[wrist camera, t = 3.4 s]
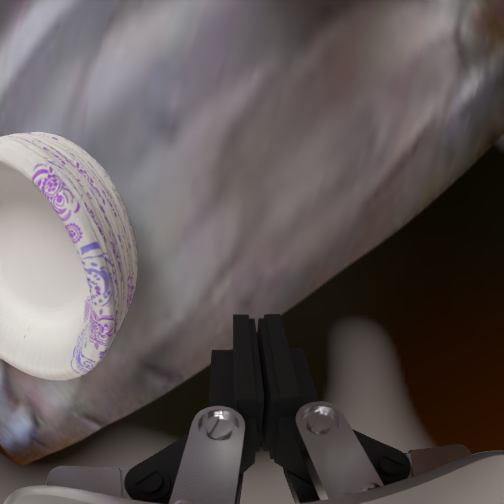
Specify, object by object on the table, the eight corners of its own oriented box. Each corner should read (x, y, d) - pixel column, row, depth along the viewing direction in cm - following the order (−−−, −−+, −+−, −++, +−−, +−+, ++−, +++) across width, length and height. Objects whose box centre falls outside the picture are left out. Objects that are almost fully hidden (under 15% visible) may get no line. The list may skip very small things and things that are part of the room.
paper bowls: (-25, 175, 16) (-89, 203, 9) (115, 93, 16) (47, 81, 8) (39, 326, 22) (0, 383, 15) (181, 299, 22) (162, 378, 14)
